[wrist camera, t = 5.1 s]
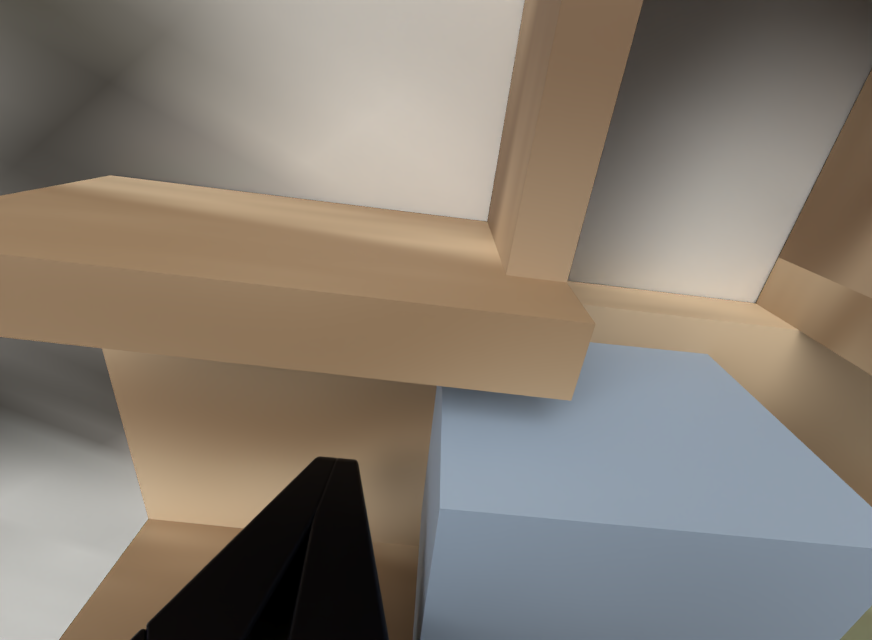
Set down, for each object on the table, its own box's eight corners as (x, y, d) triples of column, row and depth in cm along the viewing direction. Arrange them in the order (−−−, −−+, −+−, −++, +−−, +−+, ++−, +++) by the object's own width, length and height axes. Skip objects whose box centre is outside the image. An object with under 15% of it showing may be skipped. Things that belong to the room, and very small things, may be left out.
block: (627, 531, 10) (725, 761, 7) (421, 512, 10) (406, 734, 6) (707, 353, 8) (921, 552, 4) (444, 327, 8) (439, 507, 4)
